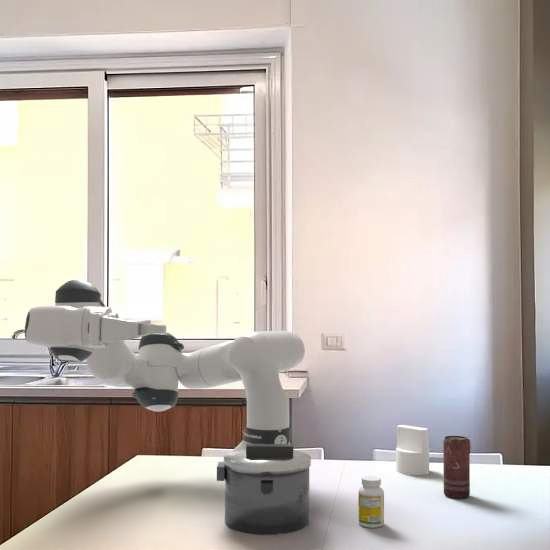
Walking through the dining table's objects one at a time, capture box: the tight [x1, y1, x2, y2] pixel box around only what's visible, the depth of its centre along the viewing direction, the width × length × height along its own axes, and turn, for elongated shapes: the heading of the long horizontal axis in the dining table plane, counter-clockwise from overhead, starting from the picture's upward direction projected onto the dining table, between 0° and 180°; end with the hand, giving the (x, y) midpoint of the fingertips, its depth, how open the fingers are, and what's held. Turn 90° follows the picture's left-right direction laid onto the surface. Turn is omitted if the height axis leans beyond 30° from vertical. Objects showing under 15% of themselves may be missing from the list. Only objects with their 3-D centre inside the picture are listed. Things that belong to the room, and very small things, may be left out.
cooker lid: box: [223, 443, 312, 475], centre depth 152 cm, size 19×19×4 cm
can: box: [442, 435, 472, 500], centre depth 171 cm, size 6×6×14 cm
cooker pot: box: [216, 461, 310, 535], centre depth 152 cm, size 20×23×12 cm
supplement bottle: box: [357, 475, 385, 529], centre depth 149 cm, size 5×5×10 cm
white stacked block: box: [395, 424, 430, 476], centre depth 196 cm, size 9×9×12 cm
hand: (165, 329), depth 153 cm, fingers closed
